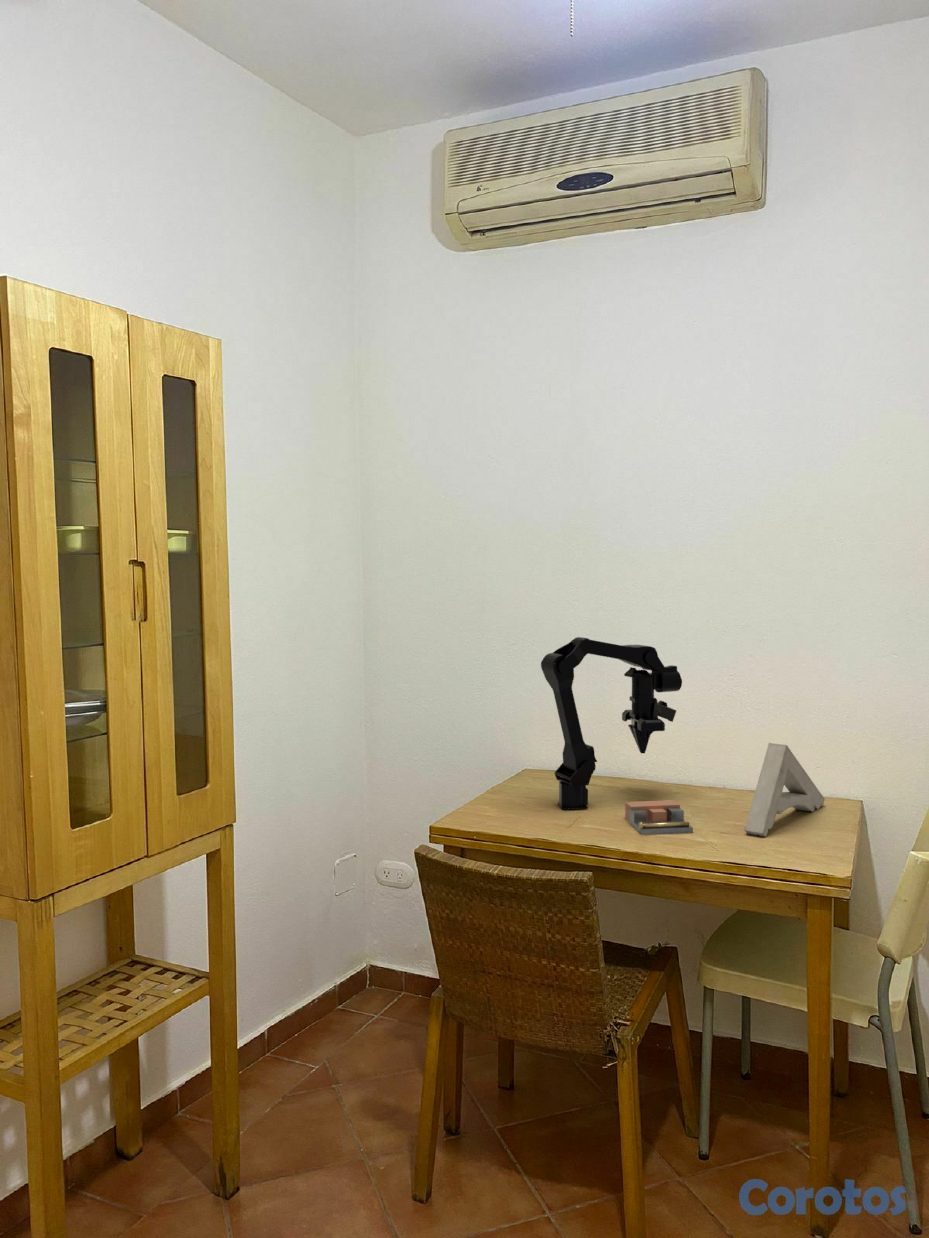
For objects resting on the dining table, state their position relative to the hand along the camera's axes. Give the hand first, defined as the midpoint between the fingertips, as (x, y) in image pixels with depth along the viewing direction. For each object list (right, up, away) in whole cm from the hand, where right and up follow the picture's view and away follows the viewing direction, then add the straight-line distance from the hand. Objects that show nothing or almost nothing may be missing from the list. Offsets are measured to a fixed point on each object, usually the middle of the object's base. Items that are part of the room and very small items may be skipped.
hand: (642, 752), depth 258 cm
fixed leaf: (-1, -14, -28) cm, 32 cm away
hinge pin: (0, -14, -31) cm, 34 cm away
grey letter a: (+31, -14, -21) cm, 40 cm away
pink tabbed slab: (-1, -13, -22) cm, 25 cm away
